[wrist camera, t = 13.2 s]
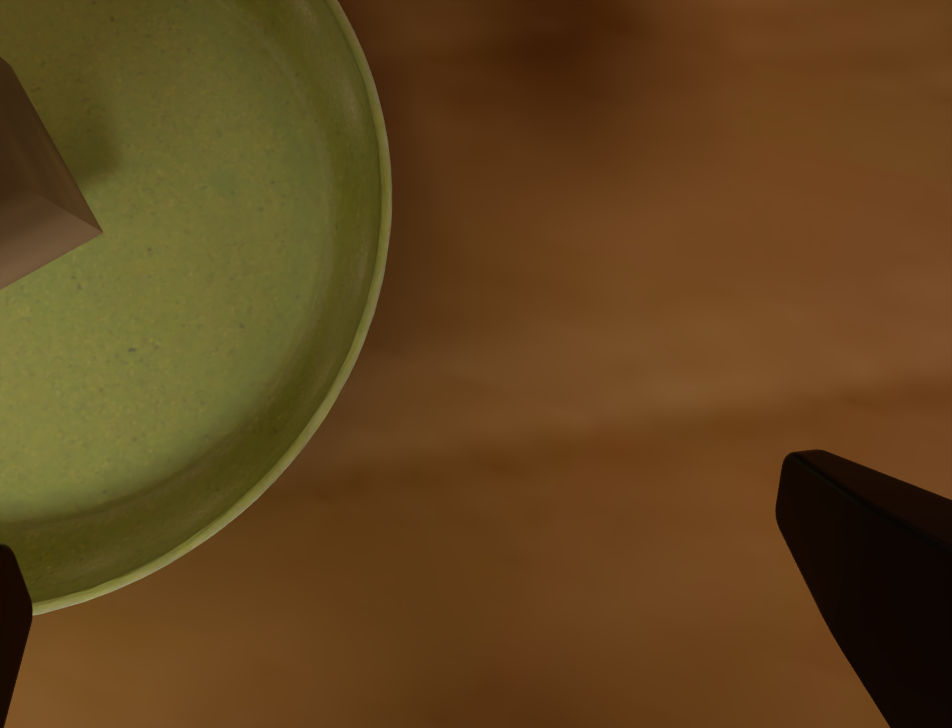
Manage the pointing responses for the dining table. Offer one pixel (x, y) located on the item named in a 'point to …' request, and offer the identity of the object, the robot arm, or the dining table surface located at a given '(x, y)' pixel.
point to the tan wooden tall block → (34, 190)
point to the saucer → (183, 273)
